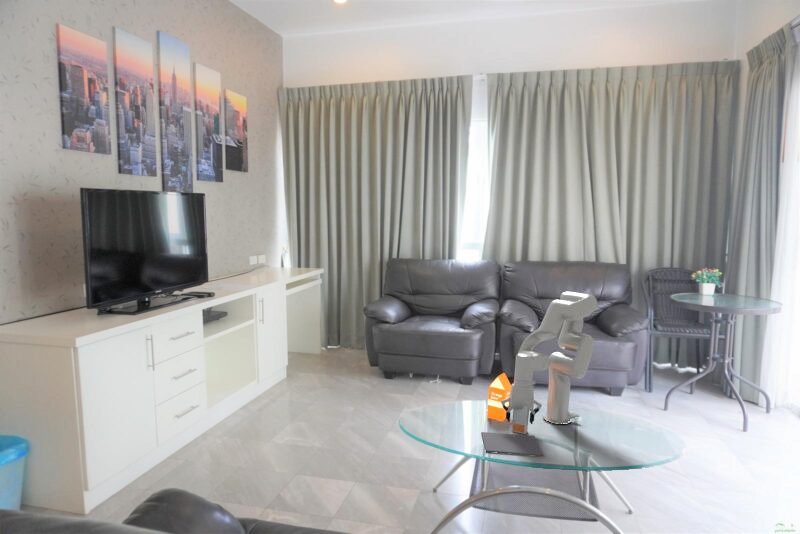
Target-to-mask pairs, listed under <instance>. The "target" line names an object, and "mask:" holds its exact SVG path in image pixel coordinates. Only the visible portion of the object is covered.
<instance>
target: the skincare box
mask: <svg viewBox="0 0 800 534" xmlns="http://www.w3.org/2000/svg"><path fill="white" fill-rule="evenodd" d="M529 418H530V410H528V407H526V406H524V407H523V408H522V409H512V420H511V432H514V433H519V434H521V435H527V432H528V428H529V427H528V426H529Z"/></svg>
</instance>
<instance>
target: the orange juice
mask: <svg viewBox="0 0 800 534" xmlns="http://www.w3.org/2000/svg"><path fill="white" fill-rule="evenodd" d="M511 385H512V383H510V381H509V378H508V377H507V375H506V373H505V372H503V373H501V374H499V375H498V376H497V377H496V378H495V379H494V381H492V383H490V385H489V386H488V400H487V413H486V415H487V416H486V418H487V417H488V418H487V419H490V420H494V421H495V420H496V421H499V422H504V421H505V420H507V419H506V410H505V409H504V408H503V406H502V404H501V400H504V399H506V398H509V394H510V389H511ZM505 406H506V407H508V406H509V402H506V403H505Z"/></svg>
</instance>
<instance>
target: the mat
mask: <svg viewBox="0 0 800 534" xmlns="http://www.w3.org/2000/svg"><path fill="white" fill-rule="evenodd" d="M480 435H481V439H482V442H483V447H484V451H485V450H486V451H485V453H489V452H497V453H496V454H501V453H511V454H510V455H514V454H522V455H521V456H526V455H535V456H534V457H539V456H544V457H545V455H544V452H543V450H542V448H541V447H540V444H539V442H538V440H537V438H536V436H535V435H527V434H513V433H512V434H511V433H502V432H501V433H500V432H488V431H486V432H485V431H481V433H480Z"/></svg>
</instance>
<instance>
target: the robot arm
mask: <svg viewBox="0 0 800 534" xmlns="http://www.w3.org/2000/svg"><path fill="white" fill-rule="evenodd" d="M597 307H598V301H597V298H596V297H595V296H594V295H593V294H591V293H590V294H589V293H582V292H575V291H565V292H562V293H561V294H560V297H559V299H554V300H552V301H551V302H550V303H549V305H548V307H547V310H546V312H545V314H544V317H543V319H542V321H541V324H540V326H539V327H538V328H537V329H536V330H534V331H532V333H530V334H529V335H528V336H526V338H525V339H524V340H523V341H522V344H521V346H520V348H519V350H518V353H517V354H516V355H515V363H514V364H515V365H514V377H513V383H511V389H510V394H509V398H506V399H504V400H501V404H502V406H503V408H504V409H505V410H506V419H505V420H506V421H507V422H508V423H510V422H511V411H513V409H522V408H523V407H524V406H526V407H528V410H529V423H530V425H533V424H534V423H533V422H535V415H536V414H537V413H538V412H539V411H540V410H541V408H542V407H543V405H542V403H540V402H539V401H537V400H535V394H534V387H533V385H536V382H537V381H535V380H533V378H534V377H533V375H534V372H544V371H546V370H548V389H547V400H546V401H547V402H546V413H543V415H542V419H543V418H544V419H545V420H546V421H545V420H544V419H543V420H544V421H545V422H547V421H549V422H553V423H558V424H561V423H562V424H563V423H568V421H570V419H571V420H572V419H574V418H575V417H579V418H580V415H579V414H575V413H574V412H569V411H570V409H569V408H570V395H571V393H570V392H571V380H570V378H573V379H578V380H579V379H583V378H584V376H585V375H586V374H587V371H588V369H589V365H590V362H591V359H592V355H593V352H594V348H595V342H594V338H593V336H591V335H589V334H586V333H582V330H583V326H584V318H586V317H587V316H589V315H591V314H592V313H593V312H595V311H596V309H597ZM558 336H559V337H558ZM557 337H558V341H557V345H558V347H559V349H561V350H563V351H566V353H564V352H560V351H555V352H552V353H551V354H550V355H549V356H548V355H546V354H544V353H541V352H538V351H534V350H533V349H534V348H535V347H536V346H537V345H538V344H539V343H541V342H544V341H548V340H552V339H554V338H557ZM567 352H569V353H567ZM570 352H571V353H572V354H570ZM573 353H574V354H575V355H574V354H573ZM569 377H570V378H569ZM506 402H509V406H508V407H506V406H505V403H506ZM534 405H535V406H536V407H535V408H534ZM549 422H548V423H549Z"/></svg>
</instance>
